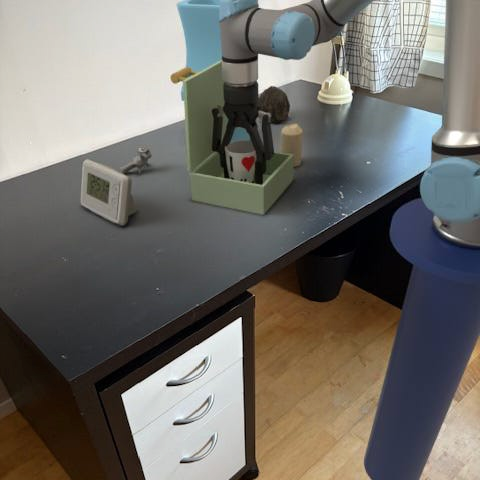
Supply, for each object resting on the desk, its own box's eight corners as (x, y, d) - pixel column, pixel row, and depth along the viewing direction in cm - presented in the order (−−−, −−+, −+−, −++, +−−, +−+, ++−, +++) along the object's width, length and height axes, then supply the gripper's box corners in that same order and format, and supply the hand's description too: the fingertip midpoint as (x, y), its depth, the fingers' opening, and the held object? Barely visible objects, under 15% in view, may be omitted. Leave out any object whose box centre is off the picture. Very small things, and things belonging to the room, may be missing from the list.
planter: (234, 155, 133) (228, 6, 109) (186, 147, 138) (171, 4, 115) (257, 135, 143) (256, -4, 120) (212, 129, 148) (202, -6, 125)
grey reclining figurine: (120, 166, 130) (149, 150, 130) (131, 186, 130) (160, 169, 130) (111, 155, 120) (142, 138, 120) (123, 176, 120) (154, 159, 120)
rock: (276, 124, 147) (275, 89, 141) (251, 121, 154) (250, 87, 149) (298, 120, 152) (298, 85, 147) (273, 117, 160) (273, 84, 154)
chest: (292, 180, 120) (293, 154, 115) (263, 215, 107) (263, 187, 103) (226, 169, 126) (225, 143, 122) (192, 200, 114) (189, 173, 109)
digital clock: (79, 206, 113) (67, 162, 106) (114, 194, 117) (104, 152, 110) (109, 233, 104) (97, 188, 96) (145, 220, 107) (137, 175, 100)
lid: (227, 58, 108) (197, 53, 110) (186, 81, 95) (153, 74, 98) (226, 142, 121) (200, 136, 123) (190, 171, 109) (161, 164, 111)
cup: (224, 194, 114) (221, 153, 107) (230, 179, 120) (228, 139, 113) (257, 195, 113) (257, 154, 106) (262, 180, 119) (262, 140, 112)
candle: (292, 157, 130) (293, 119, 124) (305, 163, 127) (307, 125, 120) (276, 162, 128) (276, 124, 122) (288, 169, 125) (290, 130, 118)
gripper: (292, 81, 99) (288, 183, 115) (206, 72, 106) (213, 170, 121) (279, 91, 94) (276, 197, 110) (189, 82, 101) (199, 182, 116)
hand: (243, 182), depth 115 cm, fingers closed on cup, 8 cm apart
